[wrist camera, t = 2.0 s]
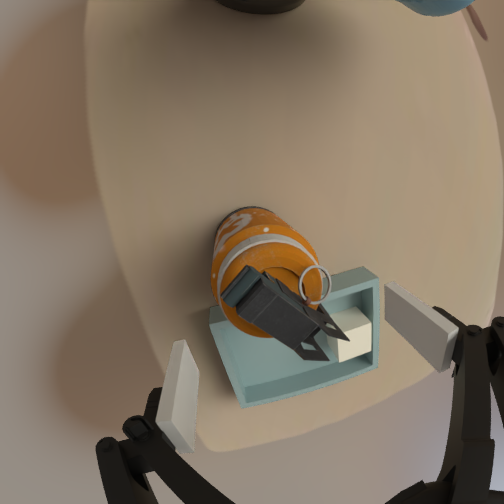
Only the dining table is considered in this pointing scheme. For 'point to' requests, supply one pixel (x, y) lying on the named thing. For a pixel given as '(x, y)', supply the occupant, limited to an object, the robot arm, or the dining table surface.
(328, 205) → the dining table surface
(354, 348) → the cream cube
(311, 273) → the canister
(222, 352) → the teal tray
